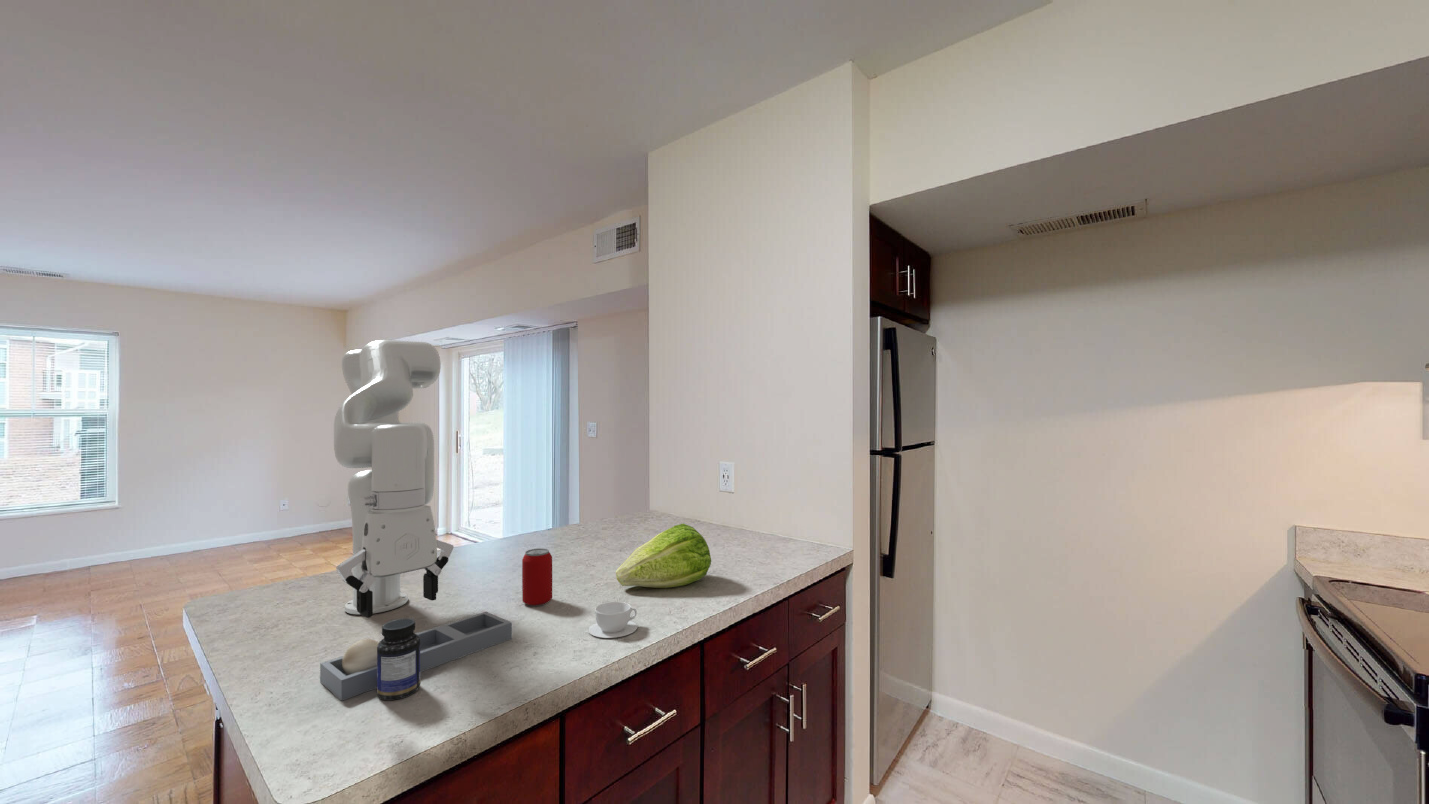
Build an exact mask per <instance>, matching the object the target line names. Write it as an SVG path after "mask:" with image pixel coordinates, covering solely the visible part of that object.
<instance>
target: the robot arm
mask: <svg viewBox="0 0 1429 804" xmlns="http://www.w3.org/2000/svg"><path fill="white" fill-rule="evenodd" d="M341 369H342V375H343V377H344V381H345V383H346V386H347V388H348V389H349V391H350V395H349V396H348V397H347V398H346V399H345V400H343V402H342V403H341V404H340V406H339V407H338V409H337V410H336V412H335V415H334V420H333V451H334V456H335V458H336V460H337V462H338V463H339V465H341V466H342V467H344V468H347V469H364V468H365V469H366V468H371V469H366V470H362V471H358V472H356V473H355V474H353V475H352V476H351V477H350V478H349V479H348V480H349V481H348V484H347V492H348V493H347V495H348V496H347V497H348V501H349V506H350V512H351V522H352V523H351V524H352V525H351V527H352V556H350V557H348V558H347V559H346V560H344V561H343V562H341V563H340V564H337V566H336V569H335V570H336V571H337V572H338V575H339V576H340V577H341V578H342V580H343V582H344V583H346V584H347V585H348V586H349V587H352V599H351V600H349V601H347V602H346V603H345V604H344V612H346V613H348V614H349V615H359V616H363V617H364V618H366V619H369V618H371V617H373V614H379V613H383V612H384V613H385V612H389V611H392V610H395V609H397V608H400V607H401V606H404V605H405V604H406V603H407V602H408V600H409V595H408V594H407V593H406V592H402V591H401V575H402V574H405V573H411V572H415V571H419V570H424V571H426V572H425V573H423V576H422V577H423V580H422V585H423V587H422V588H423V590H422V591H423V598H425V599H427V600H429V601H436V600H437V593H438V592H439V576H440V575H441V574H442V570H443V568H444V567H445V566H446V565H447V564H448V562H449V558H450V556H451V554H452V553H453V550H454V544H451V543H447V542H445V541H442V540H439V539H437V535H436V526H435V520H434V516H433V511H432V507H431V505H427V504H429V503H431V501H432V499H433V496H434V492H435V440H434V433H433V431H432V428H431V427H430V425H428V424H426V423H425V422H420V421H419V422H418V421H414V422H413V421H412V422H410V421H408V422H406V421H405V422H404V421H403V422H400V420H399V412H400V411H402V410H404V409H405V408H406V407H407V406H408V405H410V404H411V402H412V399H413V396H414V389H416V390H417V389H426V388H429V387H430V386H431V385H433V384H434V383H435V382H436V381H437V380H438V379H439V376H440V373H441V358H440V354H439V352H438V350H437V349H436V347H435V346H434V345H433V344H431V343H429V342H424V341H414V340H413V341H409V340H392V339H391V340H390V339H379V340H374V341H371V342H369V343H367V344H366V345H364V346H363V347H362V348H361V349H353V350H349V351H347V352H345V353H344V354H343V356H342V358H341ZM438 550H440V554H439V556H438Z"/></svg>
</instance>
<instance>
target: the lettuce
mask: <svg viewBox="0 0 1429 804" xmlns="http://www.w3.org/2000/svg"><path fill="white" fill-rule="evenodd" d="M711 565H712V557H711V553H710V548H709V546H708V543H707V541H706V539H705V538H704V537H703V535H702V534H701V533H700V532H699V531H698V530H697V529H695V528H694V526H691V525H689V524H686V523H680V524H677V525H674V526H672V527H670V528H668V529H666V530H663V531H662V532H660V533H657V534H656V535H655V536H654V537H652V538H651V539H649V541H647V542H645V543H643V544H642V545H640V546H638V547H636V548H635V550H633V552H632V553H631V554H630V555H629V556H628V557H627V558H626V559H625V560H624V561H623V563H622V564H620V566H618V568H617V569H616V570H615V577H616V580H617V582H618V583H619V584H620V585H621V587H633V586H635V587H644V588H657V589H660V588H675V587H681V586H683V587H684V586H686V585H687V586H688V585H690V584H691V583H695V582H697V581H698V580H701V579H702V578H703V577H705V576H706V575H707V573H708V571H709V569H710V567H711Z"/></svg>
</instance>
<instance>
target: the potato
mask: <svg viewBox="0 0 1429 804" xmlns="http://www.w3.org/2000/svg"><path fill="white" fill-rule="evenodd" d="M378 644H379V642H378V641H377V640H374V639H369V638H364V639H360V640H358V641H356V642H354V643H352V644H351V645H350V646H348V648H346V651H345V652H344V653H343V655H342V656H343V659H342V667H343V669H344V671H345V673H346V674H347V675H351V674H354V673H357V672H360V671H363V670H366V669H369V668H372V667H374V666H377V646H378Z"/></svg>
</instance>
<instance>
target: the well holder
mask: <svg viewBox="0 0 1429 804" xmlns="http://www.w3.org/2000/svg"><path fill="white" fill-rule="evenodd" d="M415 634H417V635H418V636H419V638H420V673H421V672H424V671H426V670H429V669H432V668H436V667H437V666H438V667H439V666H441V665H443V664H446V663H449V662H452V661H454V660H457V659H460V658H463V657H465V656H467V655H470V654H474V653H477V652H479V651H482V650H485V649H487V648H491V647H493V646H495V645H498V644H500V643H503V642H506V641H509V640H511V639H513V623H512V621H509V620H508V619H505V618H502V617H500V616H497V615H496V614H493V613H491V612H488V611H484V612H481V613H476V614H473V615H471V616H467V617H465V618H461V619H458V620H455V621H451V622H448V623H446V624H442V625H439V626H435V627H432V628H429V629H426V630H422V631H420V632H419V631H418V632H417V633H416V632H415ZM343 656H344V655H342V656H339V657H336V658H332V659H330V660H326V661H323V662H320V663H319V664H320V665H319V673H320V675H319V680H320V681H319V682H320V684H322V685H323V686H324V687H325V688H326V689H327V690H329V692H331V693H332V694H333V695H334V696H335V697H337V698H338V699H339V700H340V701H345V700H347V699H351V698H353V697H356V696H359V695H361V694H364V693H366V692H370V691H372V690H375V689H377V666H374V667H372V668H369V669H366V670H363V671H360V672H357V673H354V674H351V675H347V674H346V673H345V671H344V669H343V667H342V659H343Z"/></svg>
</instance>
